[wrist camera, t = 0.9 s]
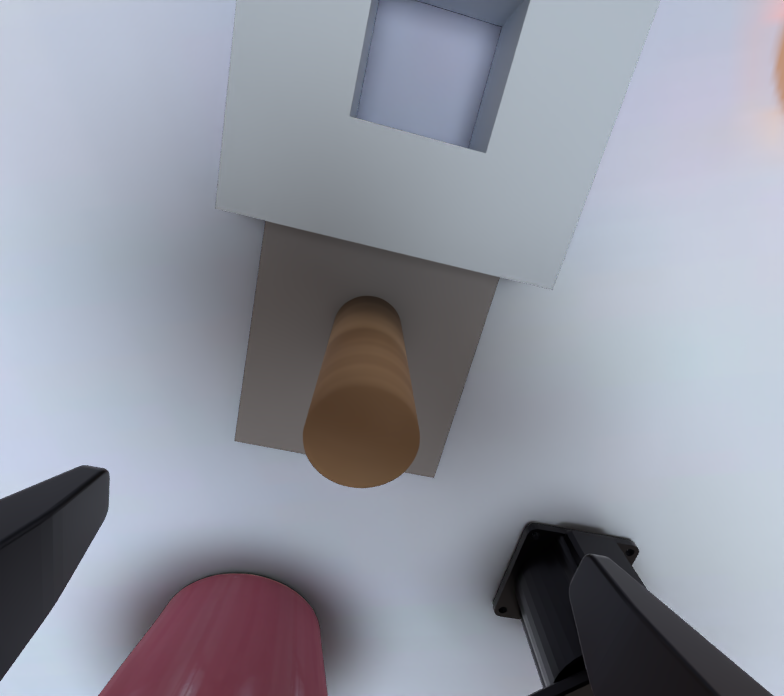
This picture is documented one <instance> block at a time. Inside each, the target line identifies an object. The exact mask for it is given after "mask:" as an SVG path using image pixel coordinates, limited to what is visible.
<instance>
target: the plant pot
mask: <svg viewBox="0 0 784 696" xmlns="http://www.w3.org/2000/svg"><path fill="white" fill-rule="evenodd" d="M98 696H328V694H327V686H326V677H325V669H324V661H323V653H322V645H321V635H320V627H319V622H318V619H317V617H316V615H315V613H314V611H313V609H312V608H311V606H310V605H309V604H308V602H307V601H306V600H305V599H304V598H303V597H302V596H301V595H299V594H298V593H297V592H296V591H294V590H292V589H291V588H289V587H287V586H286V585H284V584H282V583H279V582H277V581H275V580H272V579H269V578H266V577H262V576H258V575H252V574H238V573H229V574H220V575H214V576H210V577H207V578H204V579H200V580H198V581H196V582H194V583H192V584H190V585H188V586H186V587H185V588H183V589H182V590H181V591H179V592H178V593H177V594H176V595H175V596H174V597H173V598H172V599H171V600H170V602H169V603H168V604H167V606H166V607H165V609H164V610H163V611H162V613H161V614H160V616H159V617H158V618H157V620H156V621H155V622H154V624H153V625H152V626H151V628H150V629H149V630H148V631H147V633H146V634H145V635H144V637H143V638H142V639H141V640H140V642H139V643H138V644H137V646H136V647H135V648H134V649H133V651H132V652H131V653H130V655H129V656H128V657H127V658H126V660H125V661H124V662H123V664H122V665H121V666H120V667H119V669H118V670H117V671H116V673H115V674H114V675H113V677H112V678H111V679H110V681H109V682H108V683H107V685H106V686H105V687H104V689H103V690H102V691H101V693H100V694H99V695H98Z"/></svg>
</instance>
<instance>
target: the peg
mask: <svg viewBox="0 0 784 696" xmlns="http://www.w3.org/2000/svg"><path fill="white" fill-rule="evenodd" d="M419 444H420V430H419V425H418V419H417V413H416V407H415V401H414V396H413V390H412V384H411V378H410V372H409V367H408V361H407V355H406V349H405V343H404V337H403V332H402V326H401V321H400V318H399V315H398V313H397V311H396V310H395V309H394V307H393V306H392V305H391V304H389V303H388V302H387V301H385V300H383V299H381V298H378V297H374V296H360V297H356V298H354V299H351V300H350V301H348V302H347V303H345V304H344V305H343V306H342V307H341V308H340V309H339V311H338V313H337V315H336V317H335V320H334V324H333V327H332V331H331V334H330V338H329V341H328V345H327V348H326V352H325V355H324V359H323V362H322V366H321V369H320V373H319V376H318V380H317V383H316V387H315V390H314V394H313V397H312V401H311V404H310V408H309V411H308V415H307V418H306V422H305V425H304V429H303V445H304V450H305V453H306V455H307V457H308V459H309V461H310V462H311V464H312V465H313V467H314V468H315V469H316V470H317V471H318V472H319V473H320V474H322V475H323V476H324V477H326V478H327V479H329V480H331V481H333V482H335V483H337V484H340V485H343V486H348V487H354V488H369V487H375V486H380V485H383V484H386V483H388V482H390V481H392V480H394V479H396V478H397V477H399V476H400V475H401V474H403V473H404V472H405V471H406V470H407V469H408V468H409V466H410V465H411V464H412V462H413V461H414V459H415V457H416V455H417V452H418V449H419Z"/></svg>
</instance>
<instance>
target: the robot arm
mask: <svg viewBox="0 0 784 696" xmlns="http://www.w3.org/2000/svg"><path fill="white" fill-rule="evenodd" d="M109 481H110V476H109V472H108V471H107V470H106V469H104V468H99V467H93V466H88V465H83V466H79V467H76V468H74V469H72V470H69V471H67V472H64V473H62V474H60V475H57V476H55V477H52V478H50V479H48V480H45V481H43V482H41V483H38V484H36V485H33V486H31V487H29V488H26V489H24V490H21V491H19V492H17V493H14V494H12V495H9V496H7V497H5V498H2V499H0V681H1V680H2V678H3V677H4V675H5V674H6V673H7V671H8V670H9V668H10V667H11V666H12V664H13V663H14V662H15V660H16V659H17V657H18V656H19V655H20V653H21V652H22V650H23V649H24V648H25V646H26V645H27V643H28V642H29V641H30V639H31V638H32V636H33V635H34V634H35V632H36V631H37V630H38V628H39V627H40V625H41V624H42V623H43V621H44V620H45V618H46V617H47V615H48V614H49V612H50V611H51V610H52V608H53V607H54V605H55V603H56V602H57V600H58V599H59V597H60V595H61V594H62V592H63V590H64V589H65V587H66V585H67V583H68V582H69V580H70V578H71V577H72V575H73V573H74V571H75V570H76V568H77V566H78V565H79V563H80V561H81V559H82V558H83V556H84V554H85V552H86V551H87V549H88V547H89V546H90V544H91V542H92V540H93V539H94V537H95V535H96V534H97V532H98V530H99V528H100V527H101V525H102V523H103V521H104V520H105V517H106V515H107V512H108V507H109ZM533 533H536V534H533ZM532 534H533V535H532ZM638 553H639V549H638V547H637V546H636V545H635V543H634V542H633V541H631V540H626V539H621V538H615V537H609V536H604V535H598V534H592V533H587V532H581V531H575V530H570V529H564V528H558V527H553V526H547V525H541V524H530V525H528V526H527V527H526V528H525V530H524V532H523V535H522V537H521V539H520V541H519V544H518V546H517V548H516V551H515V553H514V555H513V558H512V560H511V562H510V565H509V567H508V569H507V571H506V574H505V576H504V578H503V581H502V583H501V585H500V588H499V590H498V592H497V595H496V597H495V599H494V602H493V608H494V612H495V614H496V615H498V616H502V617H508V618H515V619H521V622H522V625H523V628H524V631H525V634H526V637H527V640H528V643H529V646H530V649H531V652H532V656H533V659H534V662H535V665H536V668H537V671H538V674H539V677H540V680H541V683H542V686H543V689H541V690H539V691H537V692H534V693H532V694H530V695H528V696H773V695H772V694H771V693H770V692H768V691H767V690H766V689H765V688H764V687H762V686H761V685H760V684H759V683H758V682H756V681H755V680H754V679H753V678H752V677H750V676H749V675H748V674H747V673H746V672H745V671H743V670H742V669H741V668H740V667H739V666H737V665H736V664H735V663H734V662H733V661H731V660H730V659H729V658H728V657H727V656H725V655H724V654H723V653H722V652H721V651H719V650H718V649H717V648H716V647H715V646H714V645H712V644H711V643H710V642H709V641H708V640H706V639H705V638H704V637H703V636H702V635H700V634H699V633H698V632H697V631H696V630H694V629H693V628H692V627H691V626H690V625H689V624H687V623H686V622H685V621H684V620H683V619H681V618H680V617H679V616H678V615H677V614H675V613H674V612H673V611H672V610H671V609H669V608H668V607H667V606H666V605H665V604H664V603H662V602H661V601H660V600H659V599H658V598H656V597H655V596H654V595H653V594H652V593H650V592H649V591H648V590H647V589H646V587H645V585H644V584H643V582H642V581H641V579H640V578H639V576H638V575H637V573H636V572H635V570H634V569H633V567H632V564H633V562H634V561H635V559H636V557H637V555H638Z"/></svg>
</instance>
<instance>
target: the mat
mask: <svg viewBox="0 0 784 696" xmlns="http://www.w3.org/2000/svg"><path fill="white" fill-rule="evenodd" d="M499 278H500V277H497V276H492V275H488V274H484V273H480V272H476V271H472V270H468V269H463V268H459V267H455V266H451V265H447V264H443V263H439V262H434V261H430V260H426V259H422V258H418V257H414V256H409V255H405V254H401V253H397V252H393V251H389V250H385V249H380V248H376V247H372V246H368V245H364V244H360V243H355V242H351V241H347V240H343V239H339V238H335V237H331V236H326V235H322V234H318V233H314V232H310V231H306V230H302V229H297V228H293V227H289V226H285V225H281V224H277V223H272V222H268V221H265V228H264V235H263V242H262V249H261V256H260V263H259V270H258V277H257V285H256V292H255V299H254V306H253V313H252V320H251V327H250V334H249V341H248V348H247V356H246V363H245V370H244V377H243V384H242V391H241V398H240V405H239V412H238V420H237V427H236V434H235V441H237V442H242V443H248V444H253V445H259V446H264V447H270V448H275V449H280V450H286V451H291V452H297V453H302V454H306V453H305V450H304V445H303V429H304V425H305V422H306V418H307V415H308V411H309V408H310V404H311V401H312V397H313V394H314V390H315V387H316V383H317V380H318V376H319V373H320V369H321V366H322V362H323V359H324V355H325V352H326V348H327V345H328V341H329V338H330V334H331V331H332V327H333V324H334V320H335V317H336V315H337V313H338V311H339V309H340V308H341V307H342V306H343V305H344V304H345V303H347V302H348V301H350V300H351V299H354V298H356V297H360V296H374V297H378V298H381V299H383V300H385V301H387V302H388V303H389V304H391V305H392V306H393V307H394V309H395V310H396V311H397V313H398V315H399V318H400V321H401V326H402V332H403V337H404V343H405V349H406V355H407V361H408V367H409V372H410V378H411V384H412V390H413V396H414V401H415V407H416V413H417V419H418V425H419V430H420V444H419V449H418V452H417V455H416V457H415V459H414V461H413V462H412V464H411V465H410V466H409V468H408V469H407V470H406V471H405V473H411V474H416V475H422V476H427V477H433V478H434V476H435V473H436V470H437V467H438V464H439V461H440V458H441V455H442V451H443V448H444V445H445V442H446V439H447V436H448V433H449V430H450V427H451V424H452V421H453V418H454V415H455V412H456V409H457V406H458V403H459V400H460V397H461V394H462V391H463V388H464V385H465V382H466V378H467V375H468V372H469V369H470V366H471V363H472V360H473V357H474V354H475V351H476V348H477V345H478V342H479V339H480V336H481V333H482V330H483V327H484V324H485V321H486V318H487V315H488V312H489V308H490V305H491V302H492V299H493V296H494V293H495V290H496V287H497V284H498V281H499Z"/></svg>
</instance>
